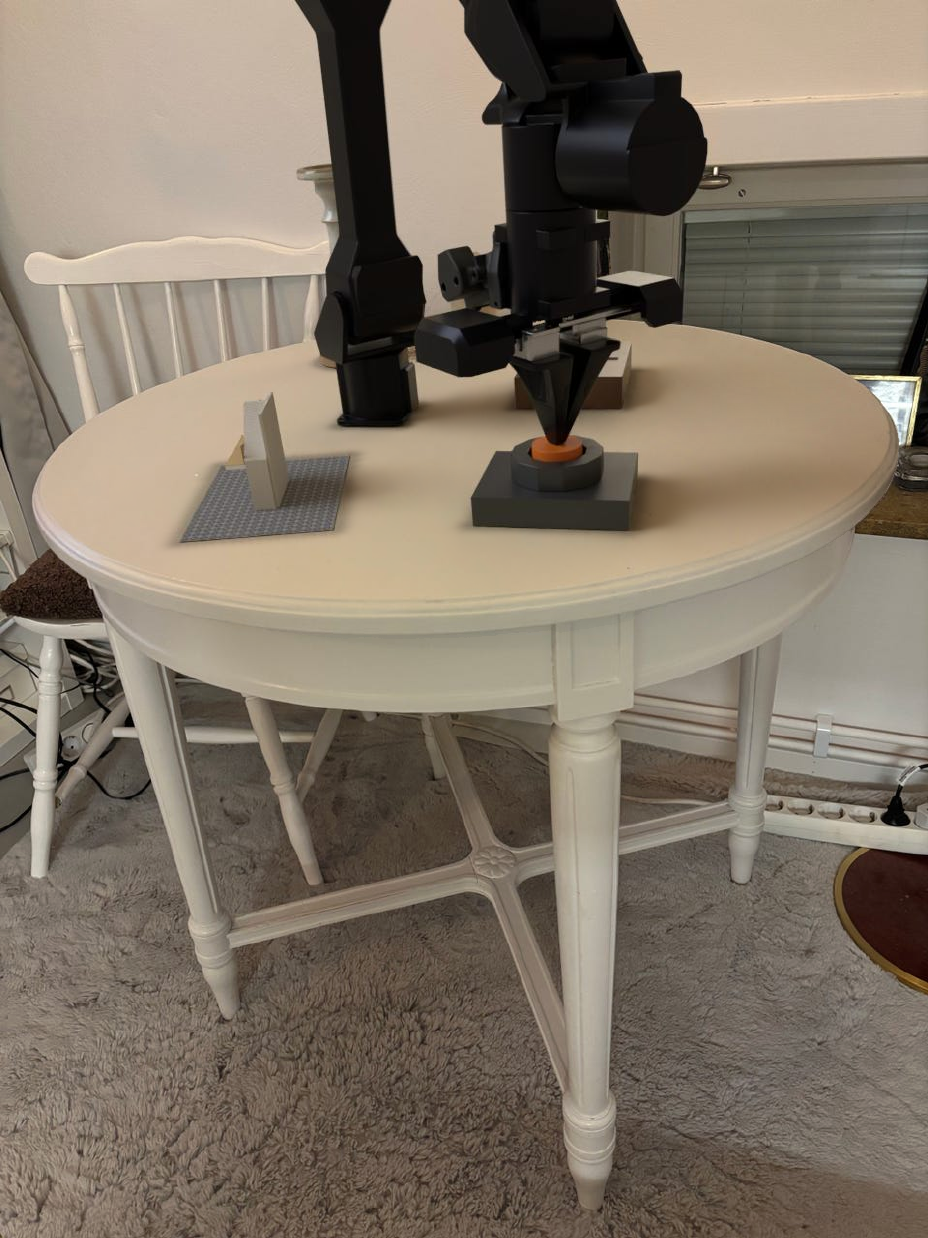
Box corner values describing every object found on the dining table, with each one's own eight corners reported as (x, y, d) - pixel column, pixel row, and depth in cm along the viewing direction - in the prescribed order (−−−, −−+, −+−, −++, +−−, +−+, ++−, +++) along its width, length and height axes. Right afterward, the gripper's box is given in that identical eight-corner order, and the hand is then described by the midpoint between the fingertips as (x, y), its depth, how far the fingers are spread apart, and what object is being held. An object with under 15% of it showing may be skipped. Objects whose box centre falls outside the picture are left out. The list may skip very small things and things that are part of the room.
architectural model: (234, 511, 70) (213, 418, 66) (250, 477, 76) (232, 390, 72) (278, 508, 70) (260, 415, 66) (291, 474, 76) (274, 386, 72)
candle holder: (391, 366, 102) (367, 165, 91) (314, 371, 102) (282, 173, 92) (398, 345, 109) (377, 158, 99) (326, 351, 110) (297, 165, 99)
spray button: (528, 475, 64) (527, 452, 63) (536, 456, 67) (535, 434, 66) (579, 476, 63) (579, 452, 63) (585, 457, 66) (584, 434, 66)
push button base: (472, 525, 64) (468, 473, 62) (497, 476, 72) (494, 428, 70) (628, 530, 62) (630, 476, 60) (637, 479, 69) (638, 429, 67)
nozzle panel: (515, 408, 86) (513, 375, 84) (535, 371, 96) (534, 341, 94) (621, 408, 83) (622, 374, 82) (631, 370, 93) (631, 339, 92)
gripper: (583, 181, 66) (584, 389, 75) (359, 217, 58) (388, 447, 66) (694, 187, 58) (682, 421, 66) (452, 231, 50) (472, 492, 58)
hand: (556, 443), depth 65 cm, fingers closed, pressing on spray button
